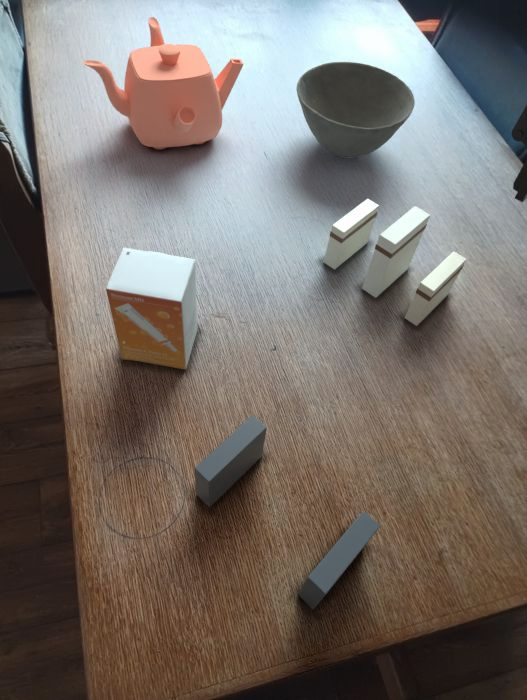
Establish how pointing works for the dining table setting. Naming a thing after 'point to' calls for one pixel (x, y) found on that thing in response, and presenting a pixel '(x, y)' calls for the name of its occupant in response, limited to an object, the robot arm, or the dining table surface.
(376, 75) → the bowl
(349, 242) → the cream books
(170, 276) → the small box
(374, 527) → the grey parallel blocks
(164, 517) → the dining table surface
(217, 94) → the teapot
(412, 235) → the white box
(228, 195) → the dining table surface
